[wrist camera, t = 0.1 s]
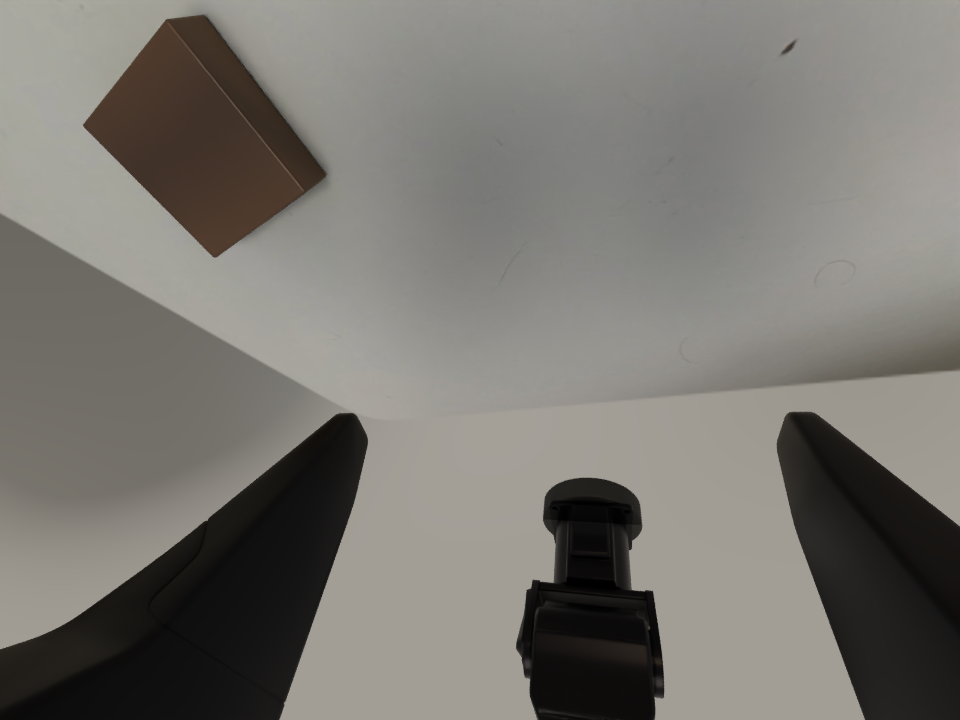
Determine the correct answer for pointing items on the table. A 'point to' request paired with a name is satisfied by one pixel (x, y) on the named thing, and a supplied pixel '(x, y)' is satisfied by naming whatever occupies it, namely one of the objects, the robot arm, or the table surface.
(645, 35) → the table surface
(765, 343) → the table surface
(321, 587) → the robot arm
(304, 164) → the walnut block
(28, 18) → the table surface
